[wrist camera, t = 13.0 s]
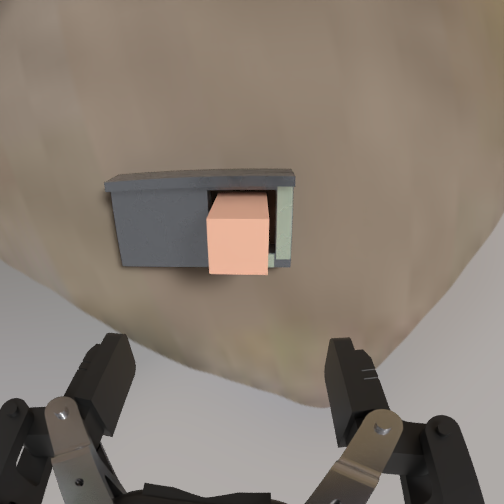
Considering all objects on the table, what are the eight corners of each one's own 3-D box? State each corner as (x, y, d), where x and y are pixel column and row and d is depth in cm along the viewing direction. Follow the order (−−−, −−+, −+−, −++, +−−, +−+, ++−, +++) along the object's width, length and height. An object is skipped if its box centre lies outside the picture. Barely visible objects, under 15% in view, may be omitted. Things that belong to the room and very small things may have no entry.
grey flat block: (118, 174, 26) (104, 182, 23) (291, 168, 26) (295, 176, 23) (130, 256, 29) (118, 271, 27) (288, 256, 29) (291, 272, 26)
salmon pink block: (218, 191, 27) (206, 218, 20) (266, 192, 27) (269, 219, 20) (220, 235, 28) (209, 273, 22) (265, 236, 28) (267, 274, 22)
